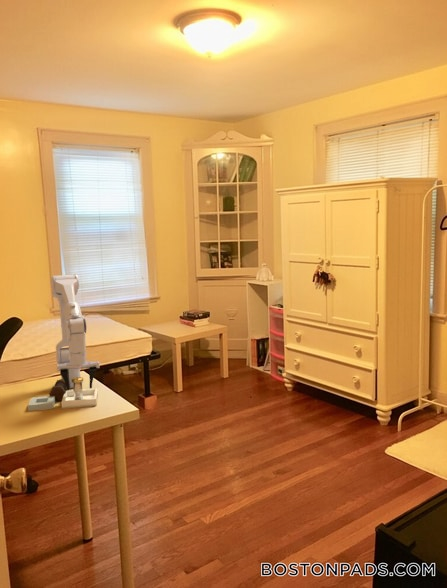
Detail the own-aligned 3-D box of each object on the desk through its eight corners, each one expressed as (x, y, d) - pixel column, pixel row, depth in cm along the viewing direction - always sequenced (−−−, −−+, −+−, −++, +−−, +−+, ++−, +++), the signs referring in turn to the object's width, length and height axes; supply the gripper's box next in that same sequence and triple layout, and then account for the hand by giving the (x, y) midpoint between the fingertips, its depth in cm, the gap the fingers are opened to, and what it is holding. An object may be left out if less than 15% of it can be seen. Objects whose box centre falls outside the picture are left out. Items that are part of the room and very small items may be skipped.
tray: (65, 397, 180) (65, 391, 180) (97, 394, 183) (97, 388, 182) (61, 408, 169) (61, 401, 169) (96, 405, 172) (96, 398, 171)
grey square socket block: (32, 402, 176) (31, 397, 175) (55, 400, 177) (55, 395, 177) (28, 410, 168) (27, 405, 167) (52, 408, 169) (52, 403, 169)
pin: (73, 398, 177) (72, 377, 176) (84, 397, 178) (83, 376, 177) (72, 402, 173) (71, 380, 172) (84, 401, 174) (82, 379, 173)
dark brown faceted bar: (64, 391, 192) (60, 403, 177) (52, 386, 191) (46, 398, 176) (71, 378, 192) (67, 389, 177) (59, 373, 191) (54, 383, 176)
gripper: (54, 355, 168) (57, 393, 170) (98, 353, 171) (100, 390, 173) (57, 350, 175) (59, 387, 177) (98, 348, 178) (100, 384, 180)
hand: (79, 388), depth 175 cm, fingers open, 7 cm apart
